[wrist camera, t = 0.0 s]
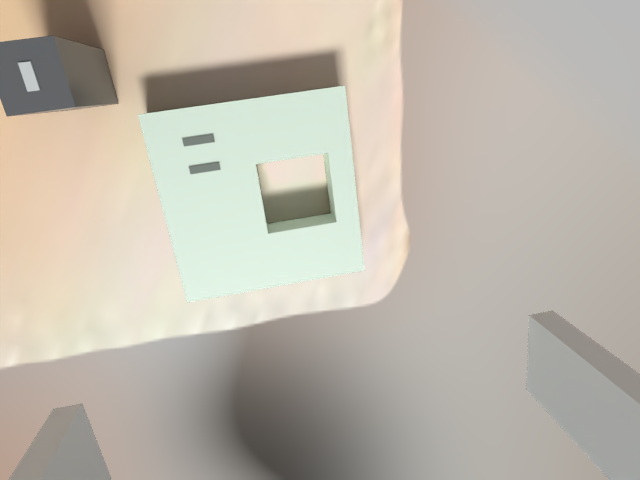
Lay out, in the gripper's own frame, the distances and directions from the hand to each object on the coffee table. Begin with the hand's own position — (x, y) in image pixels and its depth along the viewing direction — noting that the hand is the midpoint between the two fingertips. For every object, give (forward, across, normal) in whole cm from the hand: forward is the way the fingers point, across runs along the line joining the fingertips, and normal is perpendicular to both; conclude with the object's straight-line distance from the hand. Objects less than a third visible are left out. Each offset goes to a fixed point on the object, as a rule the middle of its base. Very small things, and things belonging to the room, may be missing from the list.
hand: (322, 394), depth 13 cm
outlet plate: (+28, -1, 0) cm, 28 cm away
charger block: (+28, -13, +11) cm, 33 cm away
